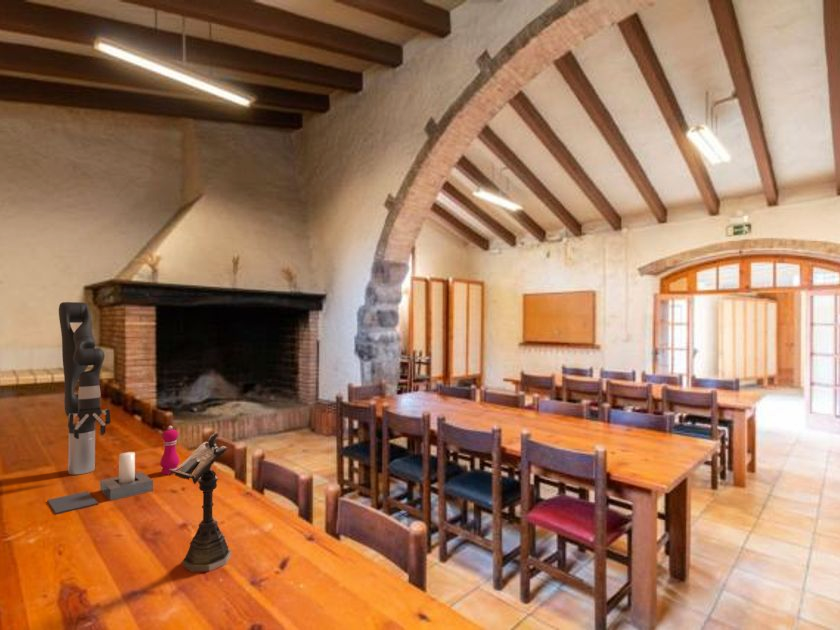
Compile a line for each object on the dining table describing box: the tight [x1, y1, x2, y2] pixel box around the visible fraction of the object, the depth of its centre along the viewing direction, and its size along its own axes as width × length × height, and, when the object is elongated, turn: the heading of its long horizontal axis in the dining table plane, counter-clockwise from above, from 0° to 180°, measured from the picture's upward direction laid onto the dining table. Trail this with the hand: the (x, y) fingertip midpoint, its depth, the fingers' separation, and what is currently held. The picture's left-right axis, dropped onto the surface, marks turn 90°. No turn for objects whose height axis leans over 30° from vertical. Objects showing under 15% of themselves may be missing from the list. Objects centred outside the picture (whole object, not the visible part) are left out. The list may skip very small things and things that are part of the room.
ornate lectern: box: [168, 432, 232, 573], centre depth 128 cm, size 17×13×35 cm
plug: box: [118, 451, 136, 485], centre depth 182 cm, size 5×5×14 cm
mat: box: [47, 490, 99, 515], centre depth 170 cm, size 16×12×1 cm
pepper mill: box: [160, 425, 180, 476], centre depth 204 cm, size 7×7×20 cm
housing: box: [100, 471, 154, 501], centre depth 182 cm, size 14×14×4 cm
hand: (89, 436), depth 195 cm, fingers open, 8 cm apart
